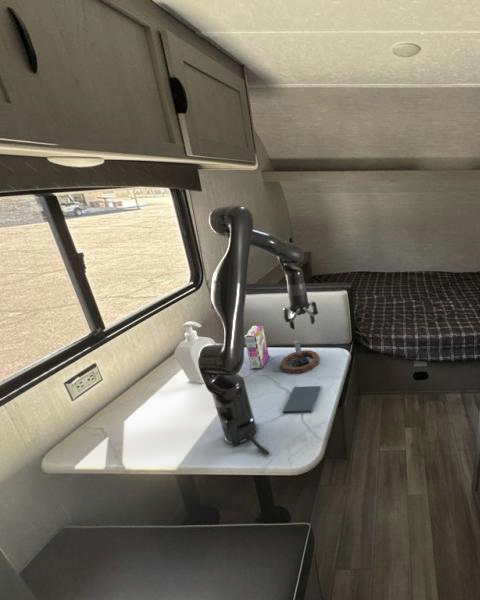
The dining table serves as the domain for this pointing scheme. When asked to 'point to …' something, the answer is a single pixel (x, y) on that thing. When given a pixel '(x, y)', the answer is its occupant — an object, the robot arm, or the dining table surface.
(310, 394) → the mat
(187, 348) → the soap bottle
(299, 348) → the stand
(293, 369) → the ring
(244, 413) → the robot arm
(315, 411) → the dining table surface
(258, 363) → the candy bar box
